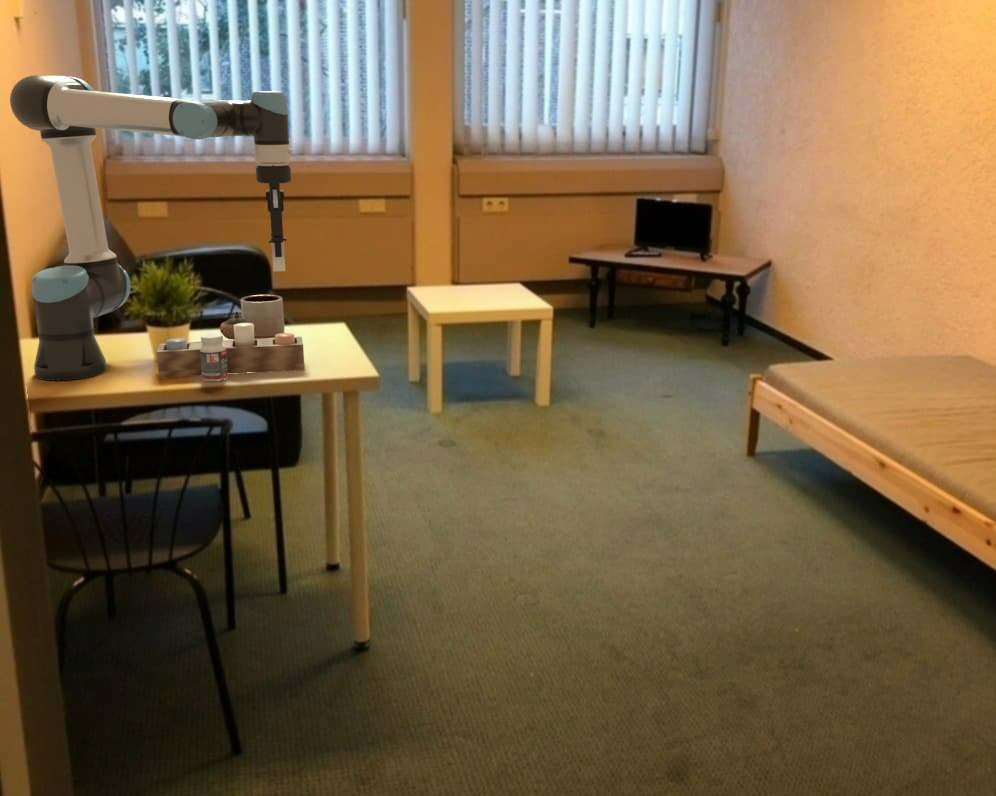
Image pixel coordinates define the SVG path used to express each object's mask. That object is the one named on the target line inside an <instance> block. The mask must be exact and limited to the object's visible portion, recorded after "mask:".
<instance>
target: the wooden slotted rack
mask: <svg viewBox="0 0 996 796" xmlns="http://www.w3.org/2000/svg"><path fill="white" fill-rule="evenodd" d="M254 339H255V346H238V347H235V340H234V339H223V341H222V344H224V345H225V346H226V354H227V366H228V373H238V374H248V373H247V372H256V373H269V372H268V371H274V372H289V371H305V354H304V353H305V352H304V351H305V350H304V343H303V337H302V336H294V340H295V344H277V345H275V337H269V338H254ZM186 342H187V341H186ZM202 345H203V343H202V342H201V341H188V342H187V349H179V350H167V346H166V342H165V343H159V345H158V348H157V349H156V359H157V360H156V361H157V370H158V378H159V377H168V378H181V377H183V376H185V377H198V376H200V377H202V376H201V375H202V373H201V361H200V347H201V346H202ZM183 378H184V377H183Z"/></svg>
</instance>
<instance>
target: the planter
mask: <svg viewBox="0 0 996 796" xmlns="http://www.w3.org/2000/svg"><path fill="white" fill-rule="evenodd" d="M240 311H241V318H244V319H246V320H247V321H249V322H251V323H253V324H254V326H255V331H254V339H263V338H275V335H276V334H280V333H285V319H284V318H285V316H284V315H285V314H284V304H283V297H282V296H280V295H277V294H255V295H247V296H243V297H242V298H241V299H240Z"/></svg>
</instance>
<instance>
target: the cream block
mask: <svg viewBox="0 0 996 796" xmlns="http://www.w3.org/2000/svg"><path fill="white" fill-rule="evenodd" d="M234 337H235V347H238V346H255V339H256V338H254V325H253V324H252V323H239V324H235V325H234Z"/></svg>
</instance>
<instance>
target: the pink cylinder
mask: <svg viewBox="0 0 996 796" xmlns="http://www.w3.org/2000/svg"><path fill="white" fill-rule="evenodd" d="M294 337H295V334H294V333H293V332H292V333H291V332H284V333H280V334H276V335H275V337H274V338H275V345H277V344H295V340H294Z"/></svg>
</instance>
